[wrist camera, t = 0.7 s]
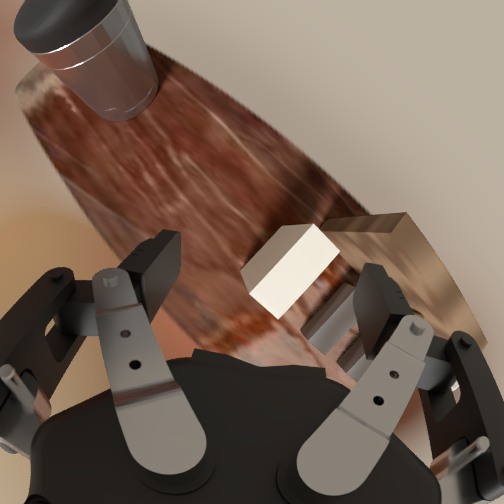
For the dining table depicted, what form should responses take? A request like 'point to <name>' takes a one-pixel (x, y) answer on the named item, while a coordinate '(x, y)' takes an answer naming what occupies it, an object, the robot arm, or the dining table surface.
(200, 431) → the robot arm
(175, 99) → the dining table surface
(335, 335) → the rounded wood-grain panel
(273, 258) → the plain white rectangular block
